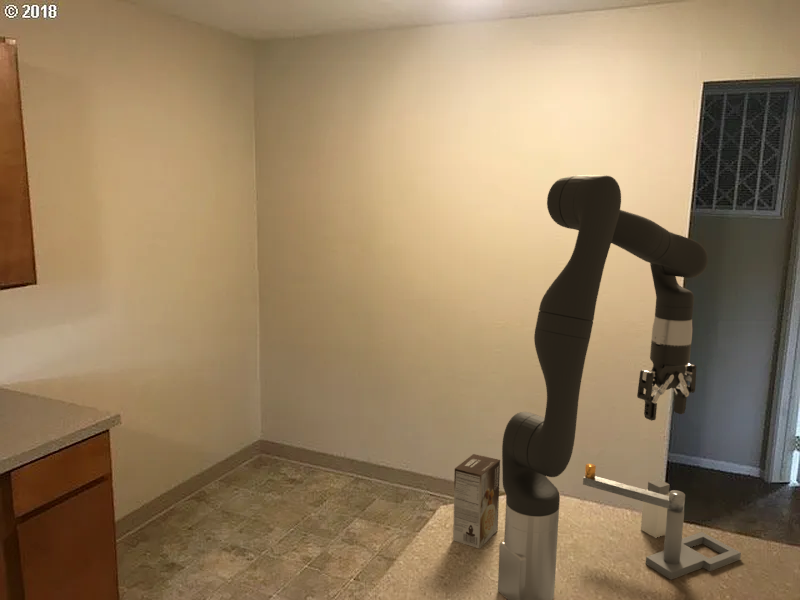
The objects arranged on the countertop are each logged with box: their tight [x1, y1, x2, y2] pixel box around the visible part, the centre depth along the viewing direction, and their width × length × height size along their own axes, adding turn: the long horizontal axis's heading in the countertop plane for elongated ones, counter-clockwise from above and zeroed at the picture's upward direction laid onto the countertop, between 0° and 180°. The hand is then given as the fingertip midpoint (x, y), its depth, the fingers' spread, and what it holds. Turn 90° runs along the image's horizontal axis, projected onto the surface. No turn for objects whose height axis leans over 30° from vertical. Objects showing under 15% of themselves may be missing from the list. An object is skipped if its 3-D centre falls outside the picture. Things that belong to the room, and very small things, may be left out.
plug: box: [640, 478, 671, 539], centre depth 144 cm, size 4×4×11 cm
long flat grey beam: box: [582, 463, 686, 512], centre depth 134 cm, size 19×3×4 cm, turn 54°
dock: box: [645, 508, 742, 580], centre depth 133 cm, size 18×9×12 cm, turn 118°
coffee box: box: [452, 453, 501, 550], centre depth 141 cm, size 9×6×16 cm
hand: (664, 416), depth 140 cm, fingers open, 8 cm apart
